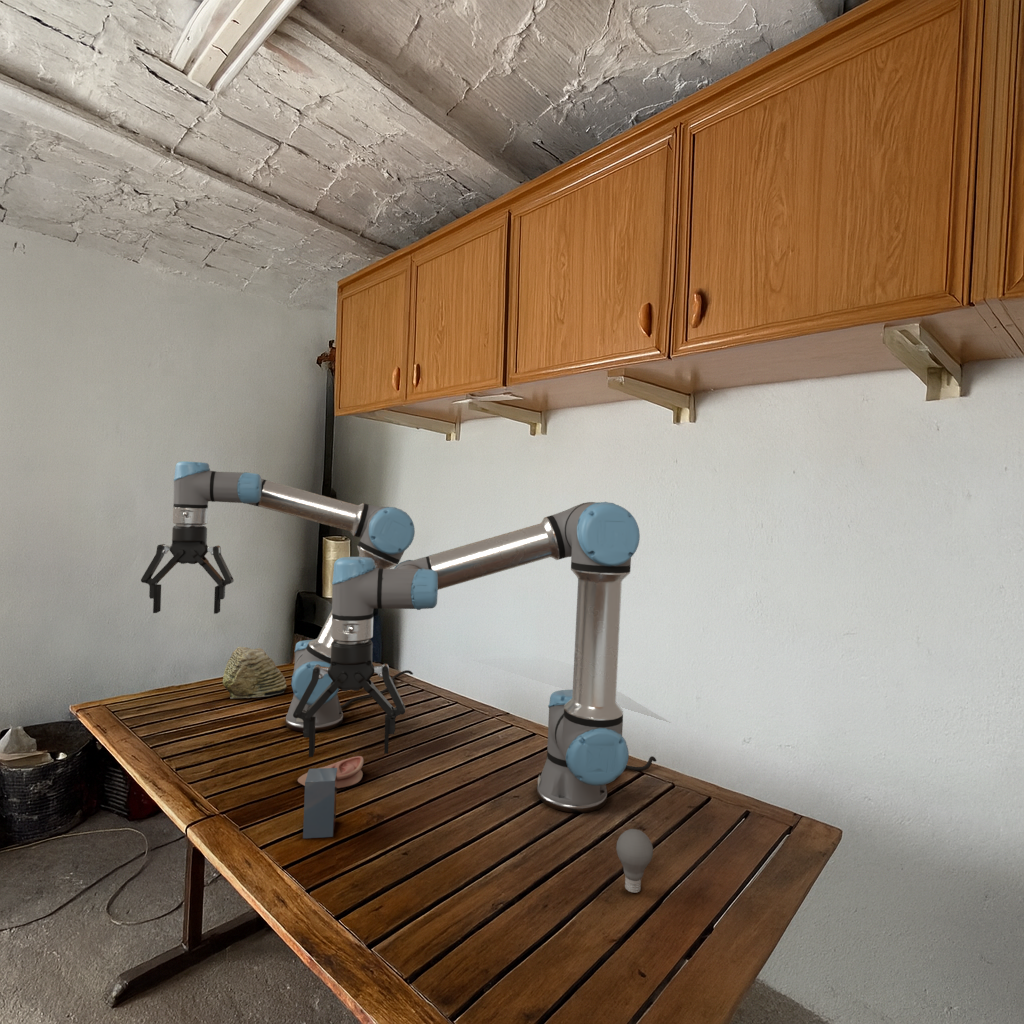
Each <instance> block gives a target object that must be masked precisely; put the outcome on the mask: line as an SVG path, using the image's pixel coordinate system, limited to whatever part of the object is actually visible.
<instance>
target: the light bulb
mask: <svg viewBox="0 0 1024 1024" xmlns="http://www.w3.org/2000/svg"><path fill="white" fill-rule="evenodd" d="M615 849H616V854H617V857H618V859H619V861H620V863H621V865H622V867H623V873H624V874H623V875H624V876H625V878H624V888H625V890H627V891H628V892H630V893H634V894H635V893H639V892H640V891H641V889H642V887H641V886H642V879H643V877H644V875H645V871H646V868H647V867H648V866H649V864H650V863H651V861H652V859H653V855H654V847H653V843H652V841H651V838H649V836H648V835H647V834H646V833H645V832H643V831H642V830H641V829H636V828H629V829H627V830H625V831H623V832H622V833H621V834H620V835H619V837H618V839H617V841H616V847H615Z"/></svg>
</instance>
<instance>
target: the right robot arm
mask: <svg viewBox="0 0 1024 1024" xmlns="http://www.w3.org/2000/svg"><path fill="white" fill-rule="evenodd" d="M640 535H641V534H640V527H639V524H638V522H637V520H636V518H635V517H634V516H633V515H632V513H631V512H630V511H629V510H627V509H626V508H625V507H623V506H621V505H619V504H616V503H615V502H609V501H600V502H599V501H598V502H596V501H587V502H583V503H579V504H577V505H575V506H572V507H570V508H568V509H564V510H563V511H560V512H557V513H554V514H551V515H548V516H544V517H543V519H542V520H541V522H540V523H537V524H534V525H529V526H526V527H523V528H520V529H517V530H513V531H510V532H506V533H503V534H499V535H495V536H492V537H489V538H485V539H481V540H478V541H475V542H471V543H467V544H464V545H460V546H458V547H454V548H450V549H447V550H443V551H440V552H436V553H434V554H433V553H432V554H429V555H427V556H422V557H420V558H415V559H407V560H404V561H401V562H399V563H398V565H397V566H394V567H393V568H390V569H379V568H375V563H374V560H373V559H372V558H368V557H359V556H344V557H339V558H338V559H336V560H335V561H334V564H333V574H332V581H331V587H332V589H331V590H332V592H331V593H332V595H331V611H332V635H331V638H332V639H333V640H334V641H333V642H332V643H331V665H330V667H321V666H320V665H315V667H314V669H313V673H312V679H311V681H310V683H309V685H308V687H307V689H306V690H305V692H304V694H303V696H302V698H301V700H300V702H299V703H298V705H297V707H296V709H295V711H294V713H293V717H294V718H300V719H302V720H303V732H302V736H303V738H304V739H307V738H308V758H313V757H314V755H315V751H316V732H315V720H316V717H312V716H313V715H314V714H315V713H316V712H317V711H318V709H319V708H320V707H321V706H322V705H323V704H324V703H325V702H326V700H327V699H328V698H329V697H330V696H331V695H332V694H333V693H334V692H335V691H336V690H337V689H338V688H339V691H340V690H341V691H342V692H347V691H354V692H355V691H360V690H362V689H364V691H365V692H366V693H368V695H371V696H372V699H373V700H374V701H375V702H376V704H377V705H378V706H379V707H380V708H381V710H383V712H384V713H385V714H384V743H383V745H384V747H383V754H384V755H385V754H387V755H388V754H389V743H390V742H389V741H390V740H389V739H390V735H395V733H396V719H397V717H398V716H401V715H405V714H406V706H405V703H404V702H403V699H402V698H401V697H402V696H401V695H400V693H399V691H398V689H397V687H396V685H395V682H394V683H393V681H392V677H391V674H390V667H389V664H388V663H386V662H384V663H383V664H381V665H374V664H373V647H374V646H373V645H374V643H373V641H372V640H371V639H372V638H373V637H374V609H377V610H379V609H380V610H383V609H390V610H397V609H398V610H399V609H400V610H417V611H421V610H427V609H430V610H431V609H434V608H436V607H437V605H438V597H439V596H438V595H439V594H438V591H439V590H442V589H446V588H449V587H450V588H451V587H453V586H457V585H461V584H463V583H467V582H470V581H473V580H477V579H480V578H484V577H487V576H490V575H494V574H498V573H502V572H504V571H507V570H511V569H515V568H519V567H521V566H525V565H528V564H533V563H535V562H538V561H543V560H546V559H550V558H552V559H553V560H555V561H559V560H562V559H566V558H570V570H571V572H572V573H573V574H574V575H575V576H576V578H577V590H576V591H577V593H576V611H575V612H576V614H575V632H574V654H573V673H572V674H573V675H572V689H560V690H555V691H554V692H552V693H551V694H550V696H549V703H548V705H547V706H548V724H547V748H546V760H545V763H544V765H543V768H542V771H541V773H540V774H539V775H538V777H537V785H536V796H537V798H538V800H539V801H540V802H541V803H543V804H544V805H546V806H547V807H549V808H552V809H554V810H558V811H562V812H567V813H575V814H578V813H579V814H581V813H590V812H594V811H597V810H599V809H601V808H603V807H604V806H605V805H606V803H607V801H608V789H607V785H608V784H610V783H612V782H614V781H615V780H616V779H617V778H619V777H620V776H621V775H622V774H624V773H623V772H625V770H629V771H633V772H642V771H646V770H648V769H649V768H650V766H651V765H652V763H653V762H657V759H656V757H655V756H652V755H651V756H649V758H648V761H647V762H646V764H645V765H642V766H633V765H628V762H629V757H630V756H629V755H630V752H629V747H628V744H627V741H626V739H625V738H624V736H623V727H624V726H623V725H624V710H623V708H622V707H621V706H620V705H619V703H618V702H617V689H618V688H617V686H618V668H619V665H618V664H619V649H620V648H619V647H620V629H621V606H622V591H623V590H622V588H623V581H624V579H626V578H627V577H628V576H629V575H630V574H631V565H632V557H633V556H634V554H635V553H636V552H637V550H638V547H639V545H640V539H641V536H640ZM325 674H328V675H329V677H330V678H331V679H332V682H331V683H330V685H329V686H328V687H327V688H326V689H325V691H324V692H323V693H322V694H321V695H320V696H319V697H318V698H317V700H316V701H315V702H314V703H313V704H312V705H311V706H310V708H309V709H308V710H303V709H304V707H305V705H306V703H307V701H308V699H309V698H310V696H311V694H312V692H313V690H314V688H315V686H316V685H317V682H318V680H319V679H322V678H323V677H324V675H325ZM374 674H377V676H378V677H379V678H381V679H382V681H383V683H384V685H385V688H387V689H388V691H387V692H388V694H389V696H390V698H391V700H392V701H393V703H394V706H393V705H392V704H391V703H390V701H389V700H388V699H387V698H386V697H385V696H384V695H383V694H381V692H380V690H379V689H378V687H376V685H375V684H374V682H373V681H372V680H371V678H372V677H373V676H374Z"/></svg>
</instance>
